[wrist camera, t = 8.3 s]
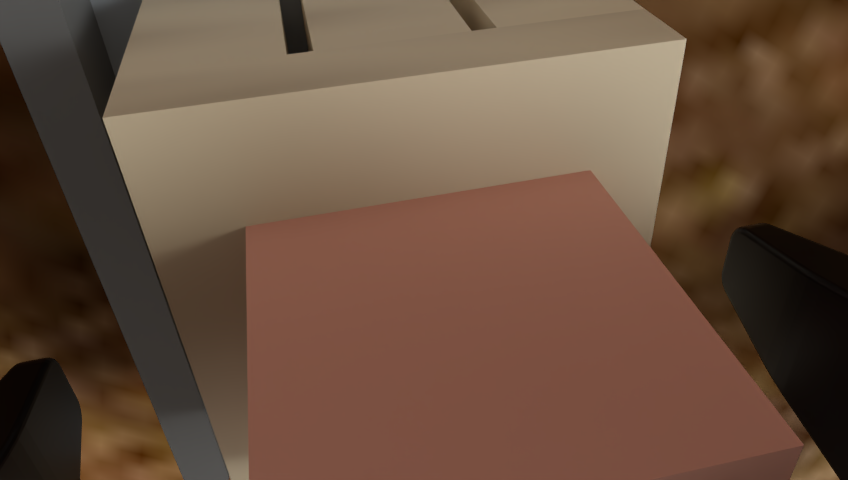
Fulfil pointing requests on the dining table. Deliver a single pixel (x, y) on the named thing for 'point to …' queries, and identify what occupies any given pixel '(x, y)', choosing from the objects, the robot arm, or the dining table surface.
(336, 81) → the beige slotted block
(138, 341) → the dock
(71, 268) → the dining table surface
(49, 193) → the dining table surface
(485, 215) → the block
